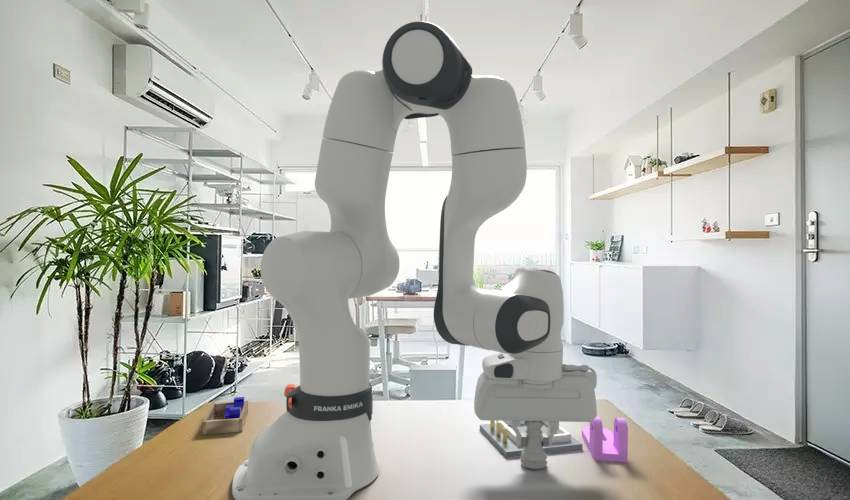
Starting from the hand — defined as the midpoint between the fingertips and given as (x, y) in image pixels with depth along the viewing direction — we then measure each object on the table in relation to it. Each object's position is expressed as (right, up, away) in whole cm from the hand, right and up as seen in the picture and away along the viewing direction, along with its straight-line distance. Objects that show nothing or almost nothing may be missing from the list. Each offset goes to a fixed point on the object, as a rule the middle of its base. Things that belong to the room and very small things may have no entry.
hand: (533, 445), depth 82 cm
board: (+2, -3, +11) cm, 12 cm away
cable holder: (-58, -3, +18) cm, 61 cm away
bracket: (+15, -4, +8) cm, 17 cm away
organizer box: (-59, -2, +18) cm, 62 cm away
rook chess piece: (0, -3, 0) cm, 3 cm away
